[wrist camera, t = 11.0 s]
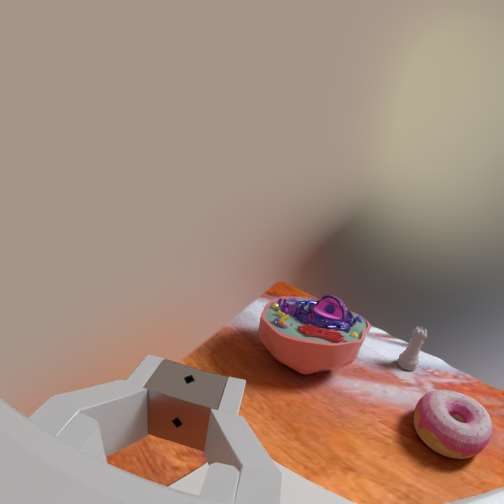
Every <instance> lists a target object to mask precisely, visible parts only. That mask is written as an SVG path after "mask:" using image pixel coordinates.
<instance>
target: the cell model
mask: <svg viewBox="0 0 504 504" xmlns="http://www.w3.org/2000/svg"><path fill="white" fill-rule="evenodd" d="M370 328H371V326H370V324H369V322H368V321H367V320H366V319H365V318H364V317H362V316H361V315H360V314H358V313H356V312H353V311H351V310H348V309H346V306H345V304H344V303H343V301H341V300H340V299H339V298H338V297H336V296H331V295H327V296H323V297H322V298H321V299H320V300H319V299H316V298H312V297H290V296H283V297H280V298H276V299H274V300H272V301H270V302H269V303H267V304H266V306H265V308H264V310H263V312H262V314H261V318H260V324H259V330H258V335H259V339H260V340H261V342H262V344H263V345H264V346H265V347H266V349H267V350H268V351H269V352H270V353H271V354H272V356H273V357H274V358H275V359H277V360H278V361H279V362H281V363H282V364H284V365H286V366H288V367H290V368H292V369H293V370H295V371H297V372H299V373H301V374H312V373H316V372H323V371H330V370H335V369H339V368H342V367H344V366H346V365H349V364H351V363H352V362H354V360H355V359H356V358H357V356H358V354H359V351H360V348H361V347H362V344H363V342H364V340H365V337H366V335H367V334H368V332H369V330H370Z"/></svg>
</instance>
